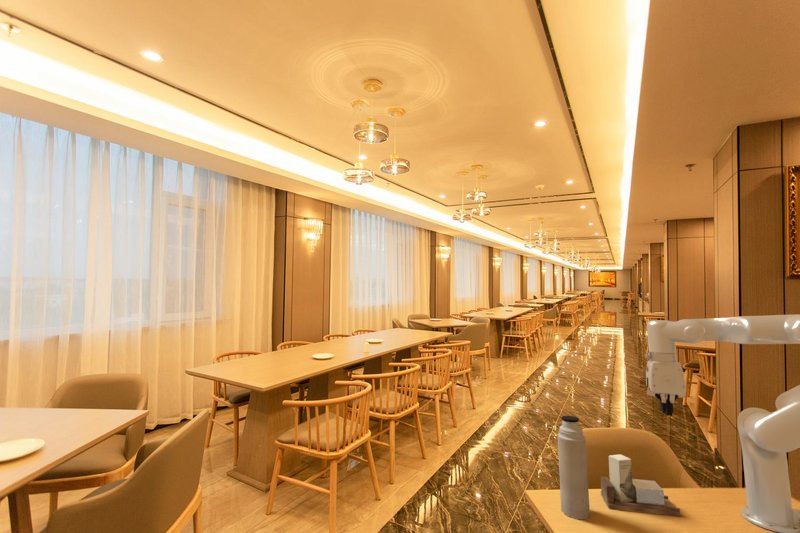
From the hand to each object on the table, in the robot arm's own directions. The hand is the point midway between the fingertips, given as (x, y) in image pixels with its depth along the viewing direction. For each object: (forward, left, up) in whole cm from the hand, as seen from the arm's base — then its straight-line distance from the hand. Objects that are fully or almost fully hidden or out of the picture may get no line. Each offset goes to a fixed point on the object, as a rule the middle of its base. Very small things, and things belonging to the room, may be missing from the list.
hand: (667, 414), depth 121 cm
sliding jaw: (+9, +5, -26) cm, 28 cm away
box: (+16, +4, -26) cm, 31 cm away
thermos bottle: (+32, +13, -27) cm, 44 cm away
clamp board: (+12, +5, -27) cm, 30 cm away
